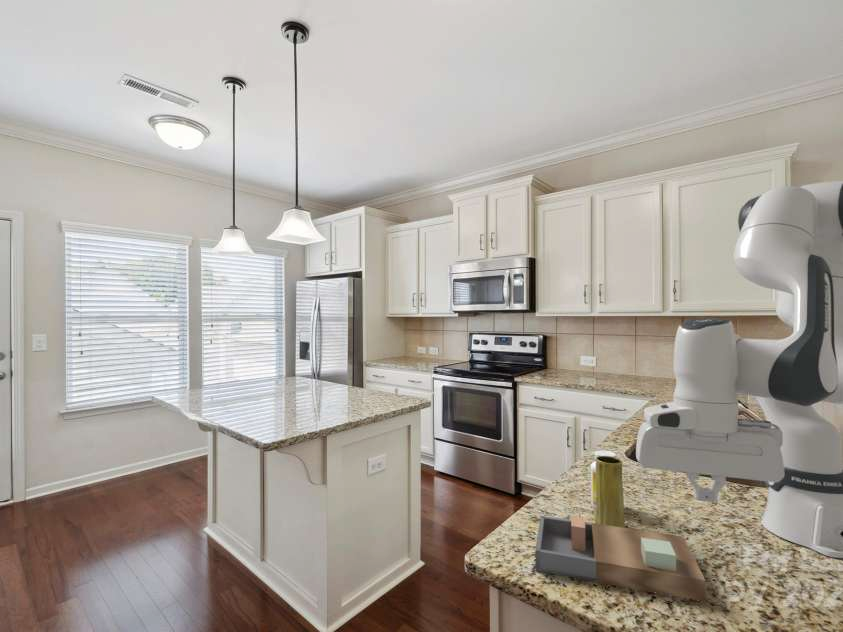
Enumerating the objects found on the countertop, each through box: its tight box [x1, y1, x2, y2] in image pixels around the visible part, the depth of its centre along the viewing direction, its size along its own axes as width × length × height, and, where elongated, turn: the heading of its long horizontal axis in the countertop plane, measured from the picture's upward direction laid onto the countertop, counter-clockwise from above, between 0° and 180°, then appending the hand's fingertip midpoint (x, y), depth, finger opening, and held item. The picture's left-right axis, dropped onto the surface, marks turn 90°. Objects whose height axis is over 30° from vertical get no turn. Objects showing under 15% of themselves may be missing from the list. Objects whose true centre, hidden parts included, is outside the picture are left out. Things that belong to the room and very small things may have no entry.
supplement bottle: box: [590, 450, 617, 509], centre depth 98 cm, size 7×7×13 cm
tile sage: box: [641, 538, 676, 571], centre depth 70 cm, size 4×4×2 cm
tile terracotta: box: [570, 515, 586, 552], centre depth 81 cm, size 4×4×2 cm
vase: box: [594, 456, 626, 528], centre depth 90 cm, size 6×6×14 cm
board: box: [591, 522, 707, 603], centre depth 74 cm, size 16×14×4 cm
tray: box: [534, 515, 597, 583], centre depth 79 cm, size 10×14×4 cm
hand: (705, 500), depth 68 cm, fingers closed
